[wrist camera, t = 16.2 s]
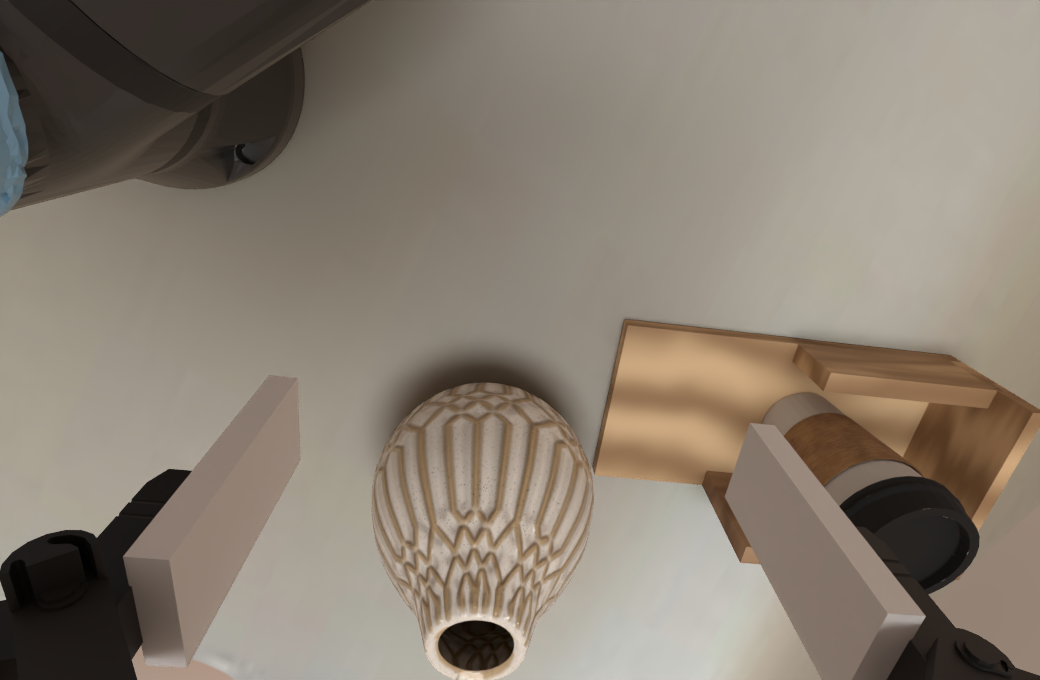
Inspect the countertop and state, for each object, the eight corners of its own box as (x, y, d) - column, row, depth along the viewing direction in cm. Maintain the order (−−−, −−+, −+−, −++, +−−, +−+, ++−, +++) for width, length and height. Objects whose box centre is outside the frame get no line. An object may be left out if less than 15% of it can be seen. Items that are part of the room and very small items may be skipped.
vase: (614, 398, 47) (684, 597, 29) (529, 533, 53) (541, 770, 34) (436, 321, 44) (386, 490, 26) (365, 474, 49) (284, 701, 31)
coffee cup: (744, 388, 45) (847, 519, 32) (851, 369, 45) (1003, 494, 31) (746, 472, 49) (840, 622, 35) (846, 455, 48) (980, 602, 35)
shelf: (624, 319, 44) (656, 380, 35) (950, 355, 46) (1060, 422, 37) (592, 466, 50) (612, 552, 41) (883, 492, 52) (965, 580, 43)
